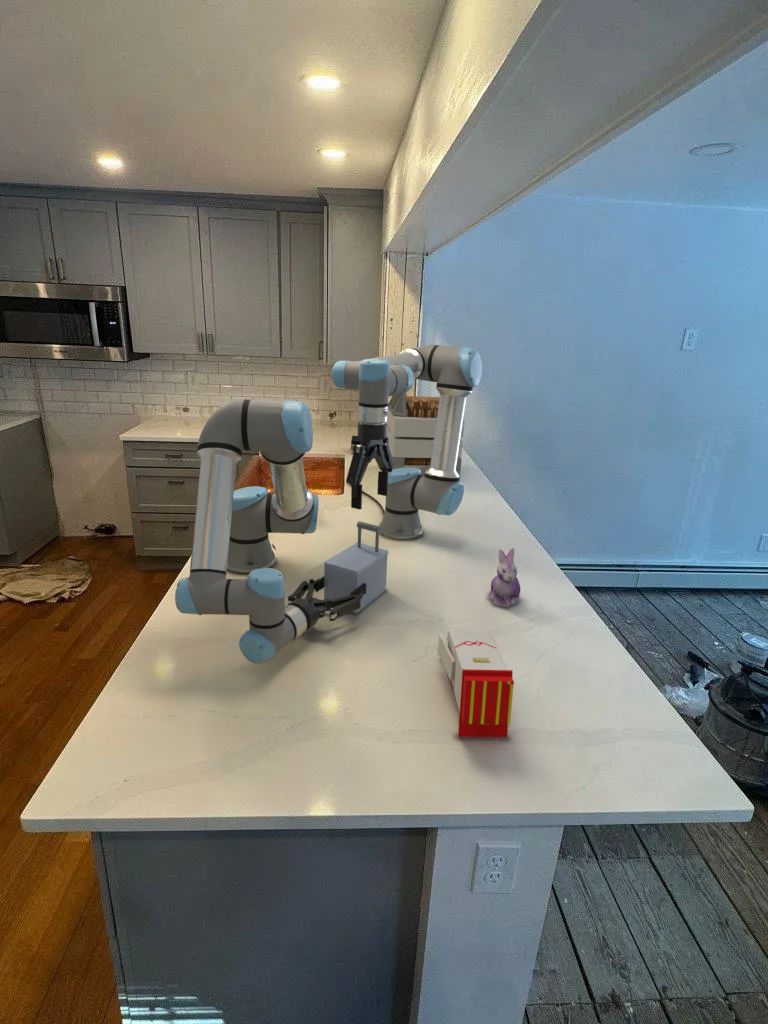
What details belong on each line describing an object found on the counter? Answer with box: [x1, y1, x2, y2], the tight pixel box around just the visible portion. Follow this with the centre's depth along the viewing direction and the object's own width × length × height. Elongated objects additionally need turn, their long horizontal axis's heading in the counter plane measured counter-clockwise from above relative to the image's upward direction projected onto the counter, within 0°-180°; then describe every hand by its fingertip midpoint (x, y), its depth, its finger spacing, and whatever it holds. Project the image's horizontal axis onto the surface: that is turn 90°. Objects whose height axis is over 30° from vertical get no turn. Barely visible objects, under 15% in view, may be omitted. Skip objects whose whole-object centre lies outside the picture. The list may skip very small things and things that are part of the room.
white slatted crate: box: [385, 392, 465, 482], centre depth 268 cm, size 34×33×41 cm
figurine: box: [489, 547, 521, 608], centre depth 154 cm, size 9×10×15 cm
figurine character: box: [350, 435, 362, 453], centre depth 309 cm, size 7×8×15 cm
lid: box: [323, 521, 389, 575], centre depth 150 cm, size 16×10×8 cm, turn 151°
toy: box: [437, 628, 515, 738], centre depth 117 cm, size 12×13×30 cm
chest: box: [323, 554, 388, 615], centre depth 154 cm, size 16×10×11 cm, turn 151°
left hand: (347, 582), depth 150 cm, fingers closed on chest, 10 cm apart
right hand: (369, 501), depth 151 cm, fingers open, 13 cm apart
